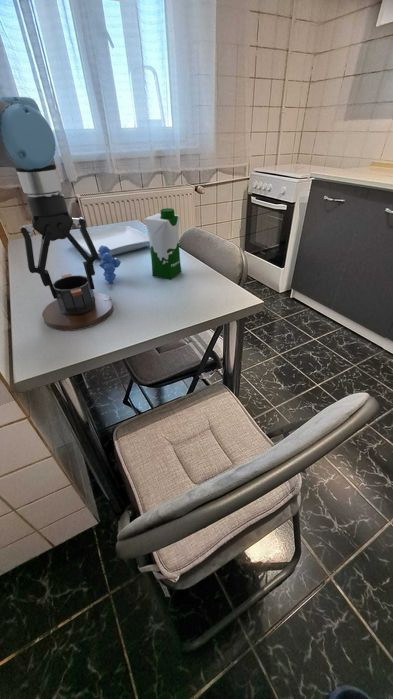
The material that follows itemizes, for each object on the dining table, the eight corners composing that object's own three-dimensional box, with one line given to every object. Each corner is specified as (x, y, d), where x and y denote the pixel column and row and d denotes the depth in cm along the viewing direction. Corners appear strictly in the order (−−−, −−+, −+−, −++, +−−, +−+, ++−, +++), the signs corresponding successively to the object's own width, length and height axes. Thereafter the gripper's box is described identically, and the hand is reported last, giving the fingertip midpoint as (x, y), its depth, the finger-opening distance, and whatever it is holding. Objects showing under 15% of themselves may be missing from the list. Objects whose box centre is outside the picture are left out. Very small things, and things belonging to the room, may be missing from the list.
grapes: (128, 286, 91) (121, 247, 84) (106, 291, 89) (97, 251, 82) (120, 273, 100) (114, 237, 92) (100, 277, 98) (91, 240, 90)
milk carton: (171, 281, 93) (165, 213, 81) (148, 276, 97) (139, 211, 85) (185, 271, 99) (182, 207, 87) (162, 267, 103) (156, 205, 91)
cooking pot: (65, 321, 72) (56, 296, 68) (56, 301, 81) (48, 278, 76) (101, 311, 75) (95, 287, 71) (89, 293, 84) (83, 270, 80)
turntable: (50, 338, 69) (47, 332, 68) (39, 307, 82) (37, 302, 81) (123, 317, 76) (122, 311, 75) (103, 291, 89) (101, 286, 88)
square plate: (70, 245, 125) (67, 236, 123) (128, 233, 138) (127, 224, 136) (93, 263, 108) (90, 252, 105) (157, 247, 120) (156, 237, 118)
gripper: (90, 186, 69) (110, 277, 82) (-15, 197, 60) (27, 296, 74) (99, 190, 63) (118, 287, 77) (-14, 203, 55) (30, 309, 69)
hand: (73, 291), depth 75 cm, fingers closed on cooking pot, 9 cm apart
